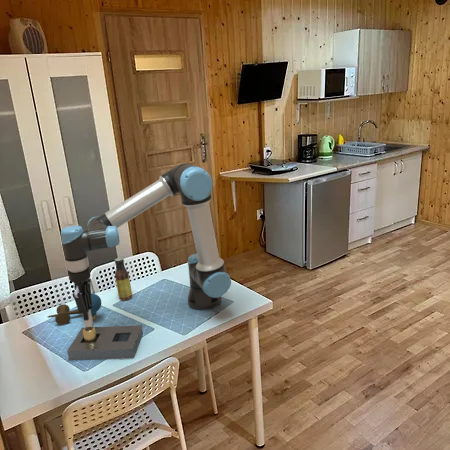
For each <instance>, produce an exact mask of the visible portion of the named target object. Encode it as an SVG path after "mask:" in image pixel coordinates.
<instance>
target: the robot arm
mask: <svg viewBox="0 0 450 450" xmlns="http://www.w3.org/2000/svg"><path fill="white" fill-rule="evenodd" d="M213 184H214V183H213V179H212V177H211V175H210V173H208V172H207V171H206V169H204V168H202V167H201V166H200V167H199V166H196V165H194V164H192V163H188V162H187V163H181V164H178V165H176V166H174V167H173V168H170V169H169V170H168V171H165V173H163V174H160V175H159V179H157V180H156V181H155V182H153V183H151V184H150V185H148V186H146V187H145V188H143V189H141V190H140V191H139V192H137V193H135V194H134V195H132V196H130V197H128V198H126V200H124V201H122V202H121V203H119V204H117V205H116V206H114V207H113V208H111V209H110V210H108V211H106V212H104V213H103V214H101V215H98V216H92V217H91V218H89V220H88V222H87V228H86V229H87V230H84V229H83V227H82V226H81V225H69V226H66V227H64V228H62V229H61V230H60V238H61V244H62V250H63V255H64V260H65V261H64V263H65V264H66V269H67V276H68V280H69V281H70V282H72V283H73V285H74V286H73V287H74V290H75V291H74V292H73V293H72V297H73V299H74V302H75V304H76V308H77V309H78V311H79V313H82V314H81V315H82V320H83V325H84V327H92V326H94V320H92V315H91V310H90V309H92V308H93V306H91V305H92V297H91V293H92V288H91V286H92V285H91V282H92V281H91V270H90V267H89V266H90V264H89V262H90V261H89V257H88V253H87V252H92V251H96V250H103V249H108V248H109V249H110V248H113V247H116V246H119V245H120V233H119V230H118V228H120V227H121V226H123V225H125V224H126V223H128V222H129V221H131V220H132V219H134V218H136V217H137V216H139V215H141V214H142V213H144V212H146V211H147V210H149V209H150V208H152V207H155V205H156V204H159V203H161V202H162V201H163V200H165V199H166V198H168V197H174V196H176V195H178V194H179V195H180V200H181V204H182V205H183V206H184V207H185V208H186V210H187V215H188V219H189V223H190V229H191V232H192V237H193V243H194V246H195V247H194V248H195V251H196V253H193V254H191V255H189V256H188V258H187V267H188V275H189V277H188V278H189V286H190V287H189V291H188V295H187V305H188V307H190V308H191V309H193V310H196V311H197V310H198V311H207V310H212V309H214V308H216V307H218V306H220V305H221V303H222V296H224V295H226V294H227V293H228V291H229V290H230V288H231V285H232V278H231V276H230V275H229V274H228V273H227V270H226V265H225V260H224V259H222V258H221V257H220V254H219V249H218V245H217V244H218V243H217V240H216V239H217V238H216V234H215V227H214V224H213V219H212V213H211V208H210V202H211V200H212V198H213V197H212V192H213Z"/></svg>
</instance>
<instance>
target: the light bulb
mask: <svg viewBox="0 0 450 450" xmlns="http://www.w3.org/2000/svg"><path fill="white" fill-rule="evenodd" d="M91 297H92V305H91V306H93V308H92V309H90V310H91V315H92V321H94V320H96V318H97V316H96V315H97V312H98V311H99V310H100V309H101V307H102V300H101V297H100V296H99V295H97V294H95V293H93V292H91Z"/></svg>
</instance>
